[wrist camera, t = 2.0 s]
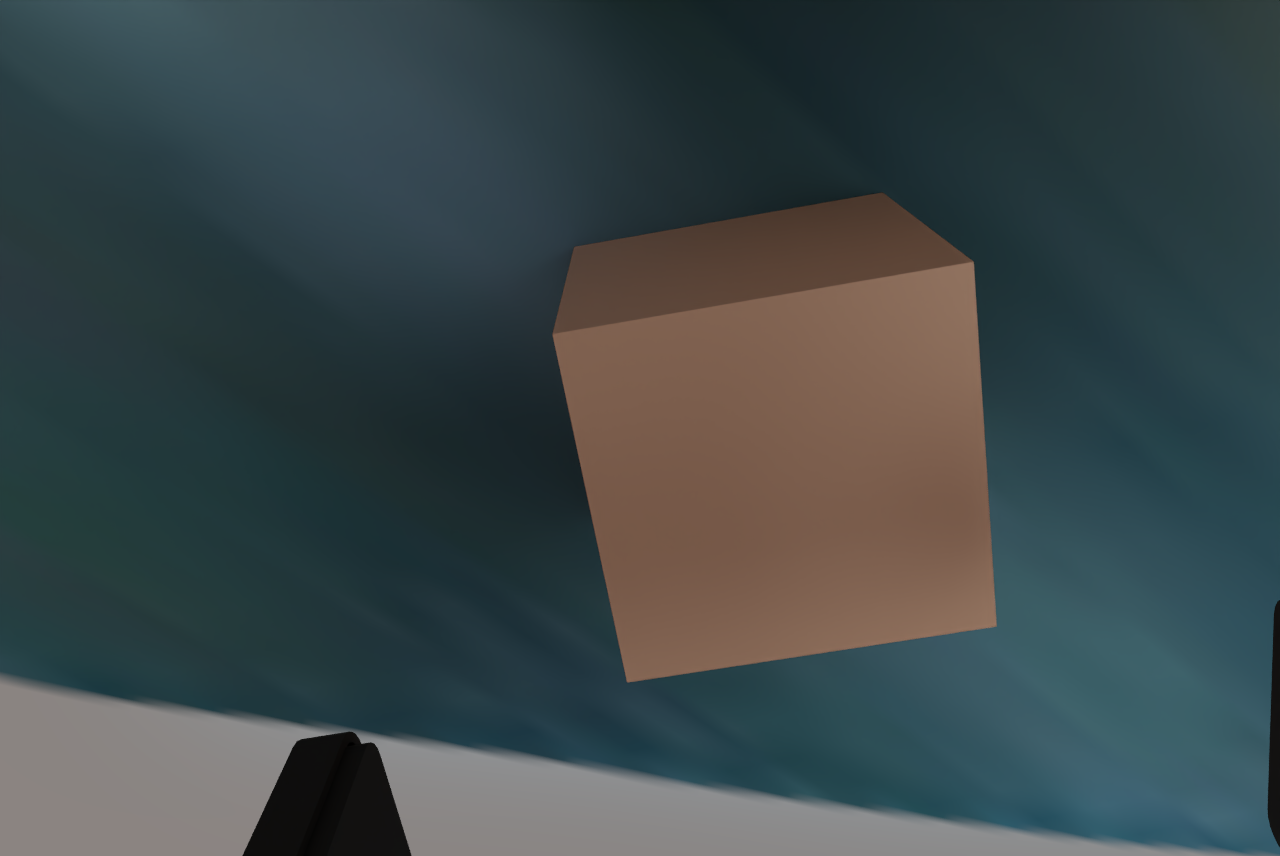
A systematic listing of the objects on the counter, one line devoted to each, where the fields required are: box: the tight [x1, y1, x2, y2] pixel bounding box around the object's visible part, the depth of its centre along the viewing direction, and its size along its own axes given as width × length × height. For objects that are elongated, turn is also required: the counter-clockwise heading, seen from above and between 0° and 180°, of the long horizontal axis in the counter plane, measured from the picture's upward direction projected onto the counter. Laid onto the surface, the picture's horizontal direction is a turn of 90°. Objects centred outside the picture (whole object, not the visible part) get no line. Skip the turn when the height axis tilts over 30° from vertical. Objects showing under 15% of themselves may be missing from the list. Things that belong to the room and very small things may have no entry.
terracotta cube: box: [552, 192, 997, 682], centre depth 19 cm, size 6×6×6 cm
